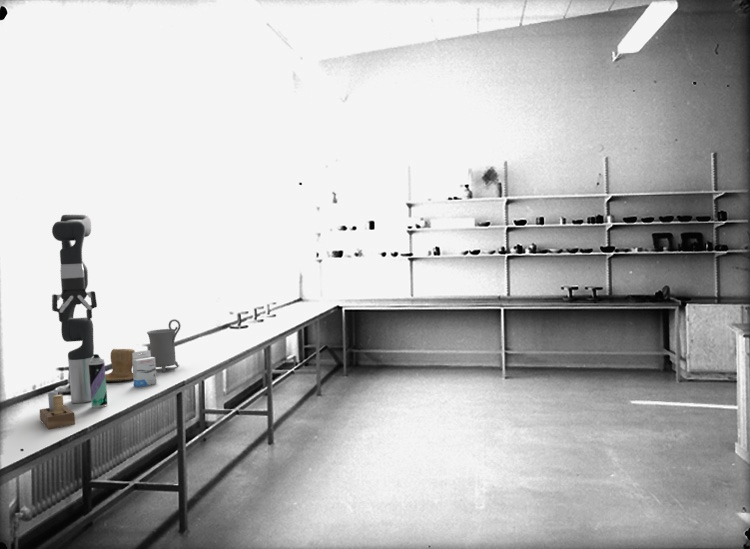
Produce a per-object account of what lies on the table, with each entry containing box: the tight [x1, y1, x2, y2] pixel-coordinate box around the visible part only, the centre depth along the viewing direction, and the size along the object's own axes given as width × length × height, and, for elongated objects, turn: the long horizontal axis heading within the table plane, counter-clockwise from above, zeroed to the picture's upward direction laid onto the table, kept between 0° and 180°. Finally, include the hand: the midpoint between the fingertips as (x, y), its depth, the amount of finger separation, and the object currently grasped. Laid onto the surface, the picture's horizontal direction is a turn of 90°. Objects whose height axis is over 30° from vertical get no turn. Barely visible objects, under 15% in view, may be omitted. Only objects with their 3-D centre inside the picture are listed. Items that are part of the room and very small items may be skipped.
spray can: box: [89, 353, 108, 409], centre depth 226 cm, size 6×6×20 cm
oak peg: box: [53, 394, 64, 415], centre depth 203 cm, size 3×3×10 cm
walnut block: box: [39, 404, 76, 430], centre depth 206 cm, size 15×8×4 cm, turn 39°
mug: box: [146, 318, 182, 373], centre depth 294 cm, size 19×15×25 cm
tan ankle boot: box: [105, 348, 136, 383], centre depth 273 cm, size 15×12×15 cm
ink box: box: [132, 349, 158, 388], centre depth 261 cm, size 9×5×15 cm, turn 133°
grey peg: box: [47, 390, 59, 411], centre depth 209 cm, size 3×3×10 cm
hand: (75, 321), depth 213 cm, fingers open, 8 cm apart
